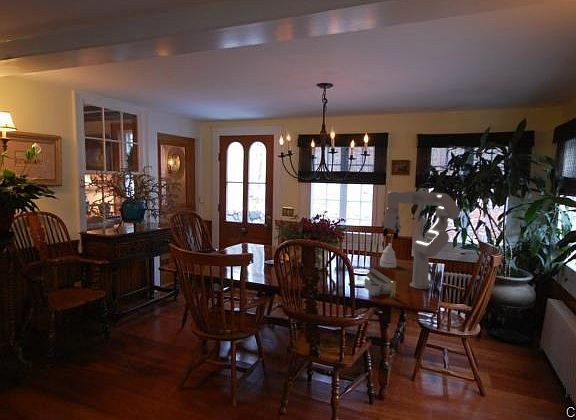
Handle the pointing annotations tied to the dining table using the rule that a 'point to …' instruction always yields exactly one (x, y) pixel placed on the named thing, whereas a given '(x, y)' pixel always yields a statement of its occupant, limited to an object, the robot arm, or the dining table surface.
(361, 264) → the dining table surface
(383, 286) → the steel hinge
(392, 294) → the brass pin
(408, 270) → the dining table surface
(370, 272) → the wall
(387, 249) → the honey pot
